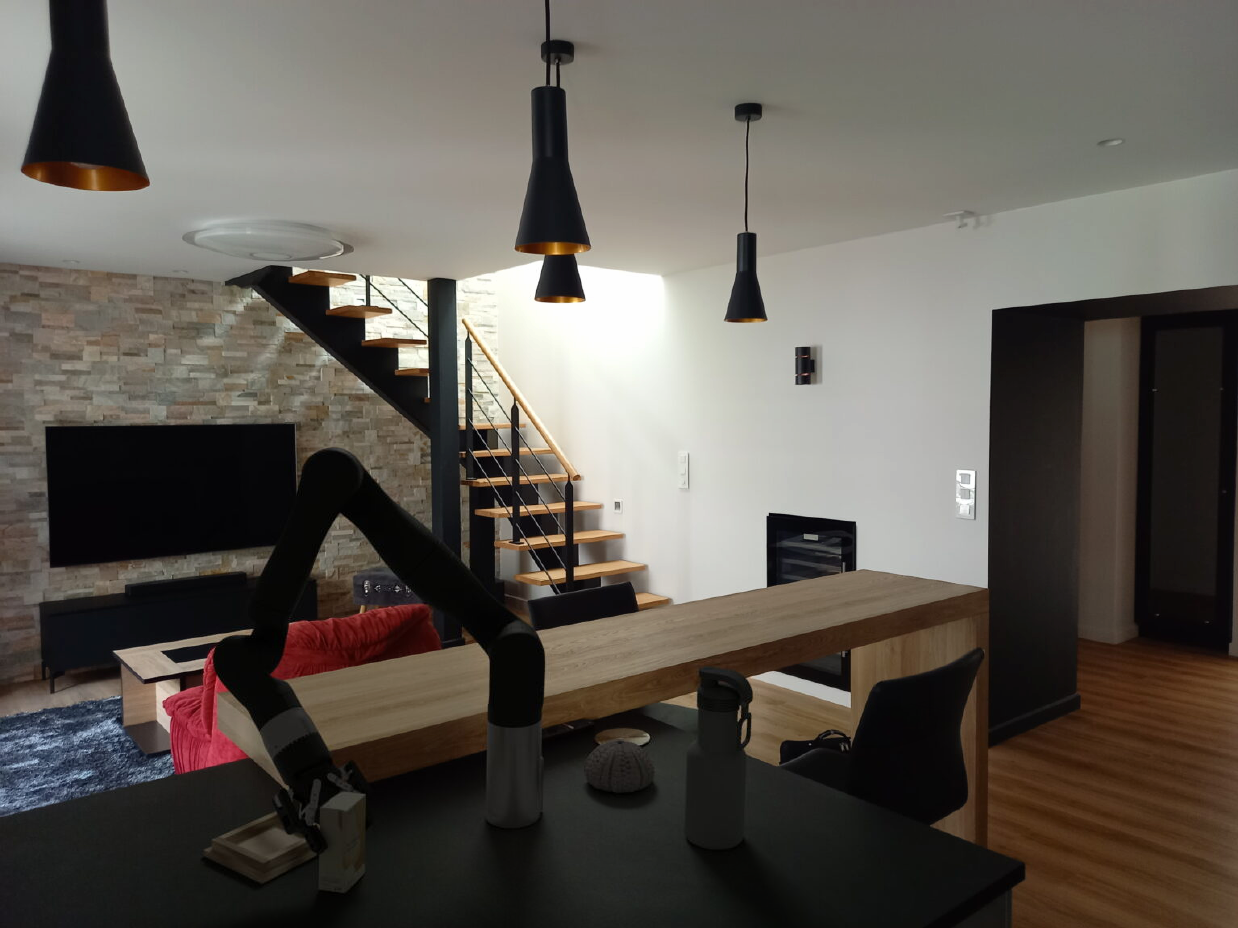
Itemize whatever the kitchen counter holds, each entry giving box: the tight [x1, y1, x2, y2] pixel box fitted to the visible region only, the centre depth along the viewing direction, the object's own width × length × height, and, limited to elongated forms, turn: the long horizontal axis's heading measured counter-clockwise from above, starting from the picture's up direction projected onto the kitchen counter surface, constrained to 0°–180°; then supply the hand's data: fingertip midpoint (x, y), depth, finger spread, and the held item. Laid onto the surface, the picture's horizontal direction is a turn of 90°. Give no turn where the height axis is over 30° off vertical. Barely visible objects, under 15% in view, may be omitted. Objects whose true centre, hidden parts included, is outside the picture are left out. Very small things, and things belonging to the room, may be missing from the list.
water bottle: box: [684, 665, 754, 851], centre depth 144 cm, size 10×10×28 cm
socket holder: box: [203, 810, 320, 884], centre depth 137 cm, size 14×14×2 cm
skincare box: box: [318, 790, 367, 894], centre depth 128 cm, size 6×4×12 cm
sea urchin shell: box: [583, 738, 656, 794], centre depth 165 cm, size 13×14×8 cm
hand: (346, 839), depth 128 cm, fingers open, 8 cm apart
